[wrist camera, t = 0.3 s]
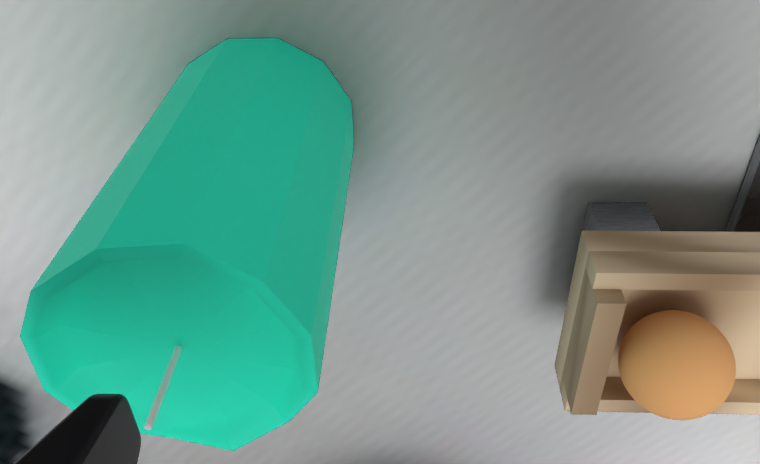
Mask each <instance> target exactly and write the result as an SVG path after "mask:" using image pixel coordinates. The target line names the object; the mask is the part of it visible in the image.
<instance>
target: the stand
mask: <svg viewBox="0 0 760 464" xmlns="http://www.w3.org/2000/svg"><path fill="white" fill-rule="evenodd" d="M583 231H661V230H660V228H659V226H658V224H657V222H656V220H655V218H654V216H653V214H652V212H651V210H650V208H649V206H648V204H647V203H588V208H587V213H586V218H585V223H584V228H583ZM725 232H760V136H759V139H758V142H757V145H756V147H755V150H754V153H753V156H752V159H751V161H750V164H749V167H748V170H747V172H746V175H745V178H744V181H743V184H742V186H741V189H740V192H739V195H738V197H737V200H736V203H735V206H734V208H733V211H732V214H731V217H730V220H729V222H728V225H727V228H726V231H725Z"/></svg>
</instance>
